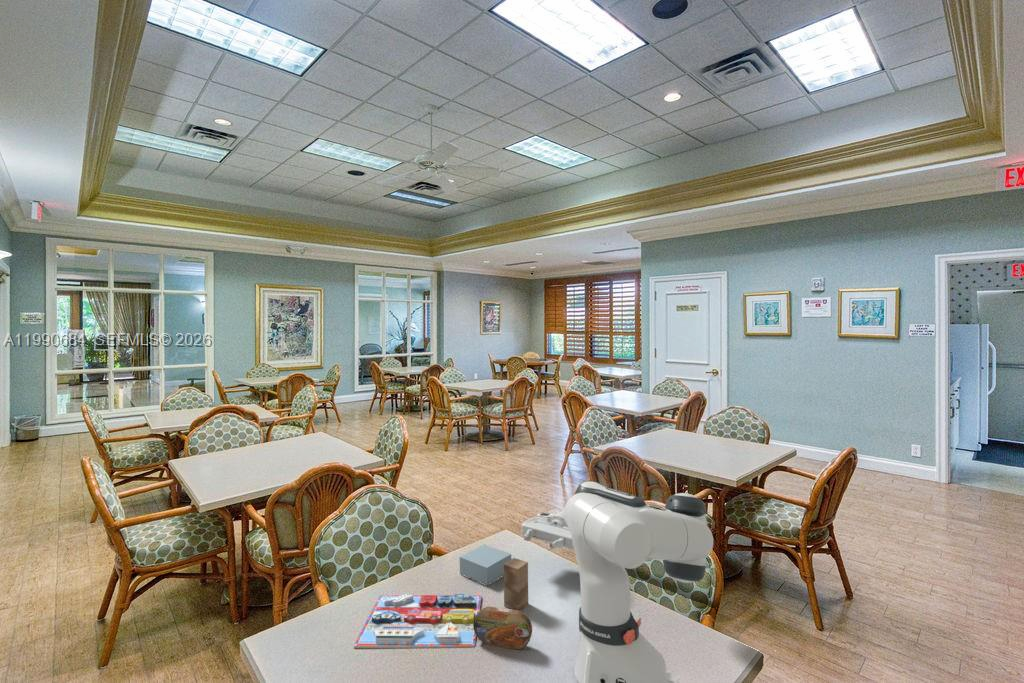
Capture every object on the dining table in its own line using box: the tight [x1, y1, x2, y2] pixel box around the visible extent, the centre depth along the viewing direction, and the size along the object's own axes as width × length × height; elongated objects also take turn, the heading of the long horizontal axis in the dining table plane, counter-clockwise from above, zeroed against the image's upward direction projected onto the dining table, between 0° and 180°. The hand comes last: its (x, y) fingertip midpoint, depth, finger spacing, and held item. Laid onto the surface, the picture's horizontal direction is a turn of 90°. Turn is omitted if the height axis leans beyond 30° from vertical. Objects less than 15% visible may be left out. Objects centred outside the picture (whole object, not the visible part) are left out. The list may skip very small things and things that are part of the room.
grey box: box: [459, 544, 512, 586], centre depth 155 cm, size 12×12×6 cm
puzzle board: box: [353, 593, 483, 649], centre depth 129 cm, size 30×23×3 cm
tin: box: [473, 606, 533, 650], centre depth 119 cm, size 15×3×8 cm, turn 73°
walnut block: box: [503, 557, 529, 611], centre depth 136 cm, size 5×5×12 cm
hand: (538, 542), depth 147 cm, fingers open, 8 cm apart
